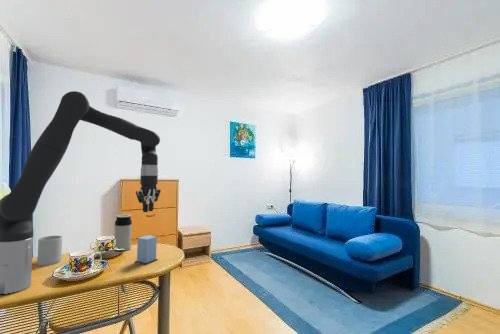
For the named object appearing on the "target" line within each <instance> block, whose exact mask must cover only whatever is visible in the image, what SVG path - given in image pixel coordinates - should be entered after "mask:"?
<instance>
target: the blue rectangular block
mask: <svg viewBox="0 0 500 334" xmlns="http://www.w3.org/2000/svg"><path fill="white" fill-rule="evenodd" d="M157 238H158V237H157V236H155V235H150V234H149V235H144V236H140V237H138V238H137V249H136V250H137V252H136V261H139V262H144V263H148V262H150V261H153V260H155V259H157V244H158V243H157Z"/></svg>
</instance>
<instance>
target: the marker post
mask: <svg viewBox="0 0 500 334" xmlns="http://www.w3.org/2000/svg"><path fill="white" fill-rule="evenodd" d="M158 260H159V259H158V258H156V259H155V260H153V261H150V262H148V263H144V262H139V261H137V260H135V261H134V263H137V264H141V265H145V266H146V265H150V264H152V263H154V262H157V261H158Z"/></svg>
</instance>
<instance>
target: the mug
mask: <svg viewBox="0 0 500 334" xmlns="http://www.w3.org/2000/svg"><path fill="white" fill-rule="evenodd" d="M62 250H63V236H61V235H50V236H49V235H48V236H43V237H40V238H38V241H37V258H36V261H37V262H36V263H37V266H40V267H43V266H44V267H47V266H51V265H56V264H59V263H60V262H62V258H63V257H62V252H63V251H62Z"/></svg>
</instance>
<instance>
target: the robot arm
mask: <svg viewBox="0 0 500 334" xmlns="http://www.w3.org/2000/svg"><path fill="white" fill-rule="evenodd" d="M80 121H82V122H86V123H90V124H93V125H95V126H98V127H100V128H103V129H106V130H108V131H111V132H113V133H116V134H117V135H120V136H122V137H125V138H127V139H129V140H132V141H137V142H140V149H141V150H140V151H141V168H140V177H139V178H140V179H139V180H140V182H139V184H140V189H139V190H136V191H135V195H136V198H137V201H138V203H139V204H142V212H143V213H148V212H153V211H154V209H155V207H154V204H155V203H156V202H158V201H159V200H158V199H159V196H160V194H161V189H158V188H157V185H158V181H159V177H158V176H159V174H158V173H159V168H158V163H159V162H158V157H159V156H158V153H157V148H156V147H158V145H159V144H160V142H161V138H160V136H159V135H158V133H157V132H155V131H153V130H151V129H147V128H145V127H141V126H139V125H137V124H134V123H133V122H132V121H128V120H126V119H125V118H121V117H118V116H114V115H111V114H108V113H105V112H102V111H100V110H97V109H95V108H94V107H92V106H91V105H90V101H89V99H88V97H87V96H86V95H85V94H84V93H82V92H80V91H76V90H72V91H68V92H67V93H65V94H64V95H62V97H61V99H60V102H59V104H58V107H57V109H56V111H55V114H54V116H53V117H52V119H51V121H50V122H49V123H48V124H47V126H46V127H45V129H43V131H42V133H41V134H40V136H39V137H38V138H37V141H36V142H35V143H34V146H32V148H31V150H30V152H29V154H28V157H27V158H26V161H25V164H24V166H23V170H22V173H21V175H20V178H19V179H18V181H17V183H16V184H15V185H14V187H13V188H12V189H11V191H10V192H9V193H8V194H6V195H5V196H3V197H2V198H1V199H0V294H7V293H10V294H12V293H13V292H14V293H17V291H18V292H20V291H23V290H24V291H25V290H26V289H28V288H29V287H30V286H32V276H33V275H32V270H33V267H32V266H33V250H34V249H33V248H34V247H33V246H34V224H33V223H34V222H33V217H34V216H33V215H34V212H35V211H36V209H37V206H38V203H39V201H40V199H41V196H42V193H43V191H44V189H45V186H46V185H47V183H48V182H49V180H50V178H51V177H52V175H53V174H54V172H55V171H56V169H57V168H58V166H59V164H60V163H61V161H62V159H63V158H64V155H65V154H66V152H67V149H68V147H69V144H70V142H71V139H72V137H73V134H74V130H75V129H76V127H77V125H78V123H79V122H80ZM14 293H13V294H14ZM7 295H8V294H7Z"/></svg>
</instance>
